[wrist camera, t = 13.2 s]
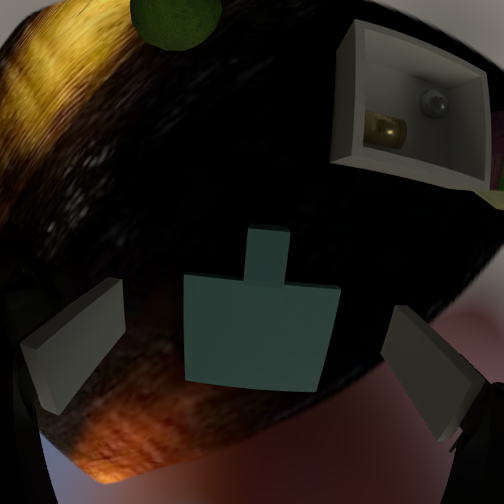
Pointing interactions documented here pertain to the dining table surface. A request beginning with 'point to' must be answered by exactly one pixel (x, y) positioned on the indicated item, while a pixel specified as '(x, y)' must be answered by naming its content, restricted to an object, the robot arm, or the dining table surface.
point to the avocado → (175, 21)
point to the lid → (258, 321)
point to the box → (496, 163)
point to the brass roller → (384, 130)
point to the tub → (411, 109)
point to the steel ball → (434, 104)
